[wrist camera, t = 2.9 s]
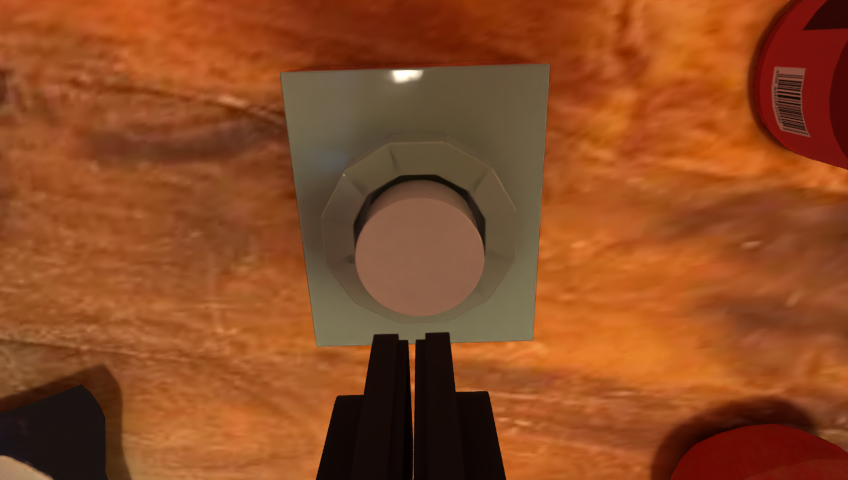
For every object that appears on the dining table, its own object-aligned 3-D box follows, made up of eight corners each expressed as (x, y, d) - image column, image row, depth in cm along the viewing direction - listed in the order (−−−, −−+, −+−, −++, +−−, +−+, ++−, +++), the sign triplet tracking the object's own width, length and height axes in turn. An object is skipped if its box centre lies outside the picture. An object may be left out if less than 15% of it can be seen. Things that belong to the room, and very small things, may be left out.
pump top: (358, 181, 18) (349, 200, 16) (478, 177, 18) (485, 196, 16) (366, 288, 19) (359, 318, 17) (476, 285, 19) (483, 315, 17)
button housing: (303, 67, 22) (262, 75, 16) (528, 60, 21) (565, 65, 16) (331, 304, 26) (306, 374, 20) (517, 299, 26) (543, 368, 20)
